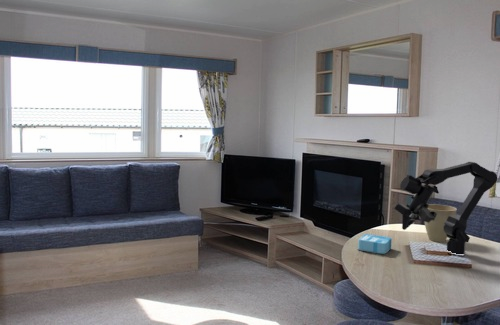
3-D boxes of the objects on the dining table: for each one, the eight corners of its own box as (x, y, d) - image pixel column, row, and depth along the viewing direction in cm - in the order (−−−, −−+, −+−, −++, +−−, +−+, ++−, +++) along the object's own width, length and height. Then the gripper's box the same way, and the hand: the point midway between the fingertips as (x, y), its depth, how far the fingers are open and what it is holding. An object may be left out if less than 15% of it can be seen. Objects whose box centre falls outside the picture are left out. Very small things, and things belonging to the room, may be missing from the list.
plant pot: (425, 243, 218) (427, 209, 216) (417, 235, 232) (419, 203, 231) (458, 245, 216) (461, 211, 214) (449, 237, 231) (451, 204, 229)
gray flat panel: (388, 248, 208) (388, 247, 208) (381, 254, 199) (381, 253, 199) (365, 244, 214) (365, 243, 214) (357, 249, 204) (357, 249, 204)
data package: (385, 243, 197) (357, 239, 203) (385, 254, 197) (357, 249, 203) (392, 237, 207) (365, 233, 213) (391, 247, 208) (364, 243, 214)
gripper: (422, 204, 186) (403, 237, 190) (448, 211, 197) (430, 242, 201) (402, 190, 195) (384, 222, 199) (428, 197, 205) (411, 228, 209)
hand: (403, 229), depth 201 cm, fingers closed
